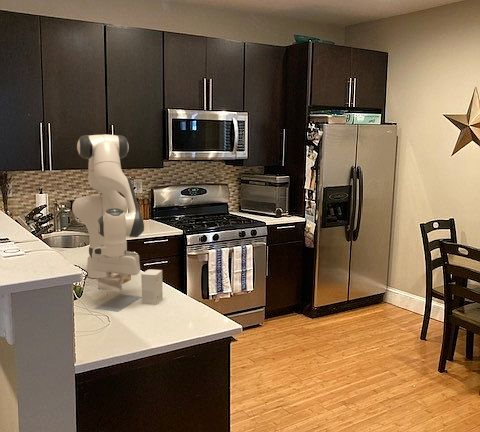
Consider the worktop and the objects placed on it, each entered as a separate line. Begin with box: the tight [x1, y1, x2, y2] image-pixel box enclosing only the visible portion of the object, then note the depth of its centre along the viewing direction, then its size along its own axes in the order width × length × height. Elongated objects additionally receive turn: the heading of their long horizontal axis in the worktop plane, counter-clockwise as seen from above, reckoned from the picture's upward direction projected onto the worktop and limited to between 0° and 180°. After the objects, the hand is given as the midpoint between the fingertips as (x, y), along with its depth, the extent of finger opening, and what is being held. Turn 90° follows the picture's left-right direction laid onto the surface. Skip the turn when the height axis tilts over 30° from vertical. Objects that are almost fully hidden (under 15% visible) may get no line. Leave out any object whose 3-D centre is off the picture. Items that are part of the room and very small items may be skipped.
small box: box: [140, 268, 164, 306], centre depth 213 cm, size 8×6×13 cm
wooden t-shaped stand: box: [97, 274, 132, 293], centre depth 211 cm, size 16×9×4 cm, turn 163°
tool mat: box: [93, 293, 142, 313], centre depth 212 cm, size 20×11×1 cm, turn 163°
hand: (116, 283), depth 210 cm, fingers closed on wooden t-shaped stand, 3 cm apart
